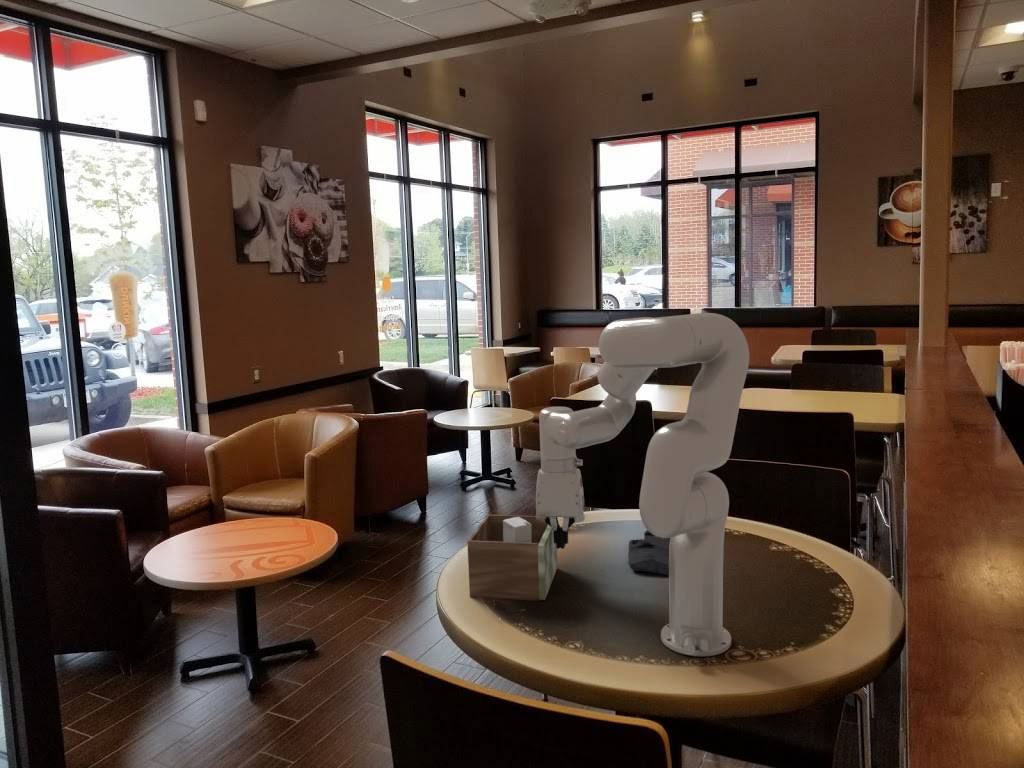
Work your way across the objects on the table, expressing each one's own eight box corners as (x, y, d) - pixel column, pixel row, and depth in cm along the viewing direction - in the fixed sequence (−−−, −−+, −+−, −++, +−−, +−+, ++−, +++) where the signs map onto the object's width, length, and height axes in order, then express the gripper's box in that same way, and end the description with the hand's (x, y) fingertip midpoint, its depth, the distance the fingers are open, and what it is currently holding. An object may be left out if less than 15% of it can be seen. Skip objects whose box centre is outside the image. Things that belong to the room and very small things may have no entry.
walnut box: (539, 600, 159) (537, 544, 157) (469, 596, 162) (467, 541, 160) (552, 568, 176) (550, 516, 175) (489, 565, 179) (487, 514, 178)
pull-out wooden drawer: (544, 599, 159) (543, 546, 157) (475, 595, 162) (473, 543, 160) (557, 567, 176) (556, 518, 174) (494, 564, 179) (492, 516, 177)
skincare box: (502, 571, 170) (500, 519, 168) (520, 567, 172) (518, 515, 170) (515, 580, 165) (513, 527, 163) (533, 576, 167) (532, 523, 165)
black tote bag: (618, 575, 172) (618, 555, 171) (631, 541, 193) (630, 523, 192) (687, 580, 168) (687, 560, 167) (692, 546, 189) (692, 527, 188)
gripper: (595, 460, 165) (597, 541, 168) (527, 460, 168) (530, 539, 171) (591, 469, 158) (593, 554, 160) (520, 468, 161) (524, 551, 164)
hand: (561, 546), depth 166 cm, fingers closed
